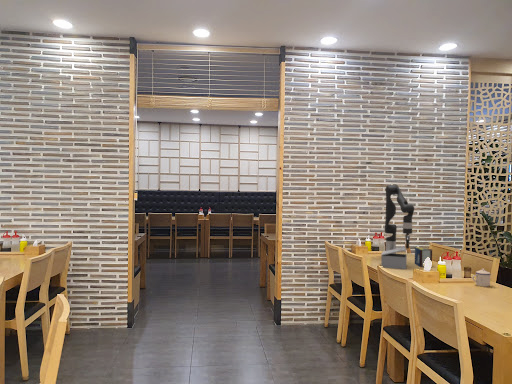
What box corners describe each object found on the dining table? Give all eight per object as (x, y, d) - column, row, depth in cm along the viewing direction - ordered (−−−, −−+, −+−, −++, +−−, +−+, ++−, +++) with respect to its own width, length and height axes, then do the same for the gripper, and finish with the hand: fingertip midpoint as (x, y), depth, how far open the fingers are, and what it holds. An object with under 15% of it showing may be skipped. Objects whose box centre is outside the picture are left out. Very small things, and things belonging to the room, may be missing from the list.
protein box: (426, 264, 361) (426, 247, 360) (432, 267, 345) (432, 249, 345) (414, 263, 362) (414, 246, 361) (419, 267, 346) (420, 249, 346)
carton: (382, 263, 358) (382, 252, 358) (406, 265, 351) (406, 254, 351) (381, 267, 341) (381, 255, 341) (406, 269, 334) (406, 257, 334)
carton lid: (383, 256, 357) (381, 247, 358) (411, 251, 349) (408, 241, 350) (382, 260, 340) (380, 250, 341) (411, 254, 332) (408, 244, 333)
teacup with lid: (485, 283, 287) (485, 267, 287) (493, 287, 278) (493, 270, 278) (468, 283, 287) (469, 267, 287) (475, 286, 278) (476, 269, 278)
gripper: (402, 227, 350) (402, 246, 350) (402, 228, 337) (402, 249, 337) (412, 227, 347) (412, 247, 347) (412, 228, 334) (412, 249, 334)
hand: (407, 248), depth 342 cm, fingers closed
